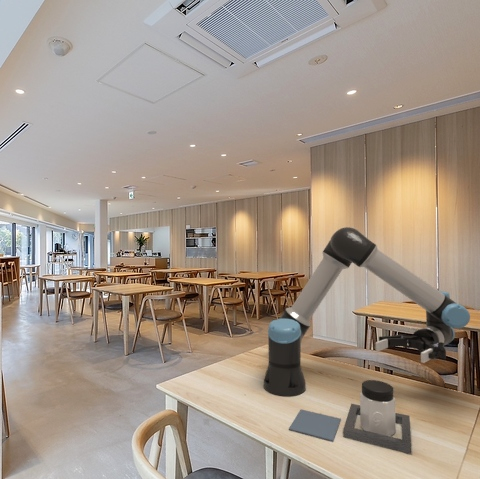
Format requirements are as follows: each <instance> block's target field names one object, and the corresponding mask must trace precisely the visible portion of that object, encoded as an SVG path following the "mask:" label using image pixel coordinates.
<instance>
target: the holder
mask: <svg viewBox="0 0 480 479" xmlns="http://www.w3.org/2000/svg"><path fill="white" fill-rule="evenodd" d="M358 415H359V416H360V404H356V403H351V404H350V406H349V410H348V413H347V416H346V419H345V422H344V425H343V430H342V431H343V432H342V436H343V438H346V439H348V440H349V439H350V440H353V441H358V442H362V443H366V444H370V445H374V446H379V447H380V448H386V449H390V450H391V451H392V450H393V451H397V452H400V453H405V454H409V455H412V436H411V421H410V419H411V418H410V415H409V414H408V415H407V414H403V413H399V412H395V421H396V424H398V425H401V438H398V437H397V438H396V437H394V436H386V435H382V434H377V433H373V432H369V431H365V430H364V429H360V428H357V427H356V428H355V425H356V423H357V422H356V421H357V417H358Z"/></svg>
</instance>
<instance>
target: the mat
mask: <svg viewBox="0 0 480 479" xmlns="http://www.w3.org/2000/svg"><path fill="white" fill-rule="evenodd" d="M341 421H342V419H341V417H335V416H331V415H327V414H322V413H319V412H314V411H310V410H305V409H300V410H299V411H298V413H297V414H296V416H295V418H294V419H293V421H292V422H291V424H290V426H289V427H288V431H291V432H295V433H298V434H301V435H306V436H308V437H309V436H310V437H313V438H318V439H321V440H325V441H328V442H332V443H334V441H335V438H336V435H337V431H338V429H339V427H340V423H341Z"/></svg>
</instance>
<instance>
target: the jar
mask: <svg viewBox="0 0 480 479" xmlns="http://www.w3.org/2000/svg"><path fill="white" fill-rule="evenodd" d="M359 397H360V398H359V405H360V415H359V416H360V418H359V419H360V427H361V428H362V430H365V431H369V432H373V433H377V434H382V435H386V436H390V437H393V435H394V434H396V432H397V430H396V426H397V425H396V424H397V423H396V421H395V413H396V398H395V397H394V387H393V386H392V385H391V384H389V383H387V382H384V381H381V380H377V379H368V380H364V381H362V382H361V392H360V393H359Z"/></svg>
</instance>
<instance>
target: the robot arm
mask: <svg viewBox="0 0 480 479" xmlns="http://www.w3.org/2000/svg"><path fill="white" fill-rule="evenodd" d="M352 263H353V264H354V265H356V266H357V267H358V268H364V269H366V270H368V271H369V272H371V273H372V274H373V275H375V276H377V277H378V278H379V279H380V280H382V281H383V282H385V283H386V284H388V285H389V286H390V287H392V288H393V289H395V290H396V291H398V292H399V293H401V294H402V295H403V296H405V297H407V299H409V300H411V301H412V302H413V303H415V304H416V305H418V306H419V307H421V308H422V309H424V310H425V317H426V318H425V319H426V320H425V322H426V326H425V327H424V328H421V329H417V330H415V331H414V332H413V333H412V335H411V336H404V334H402V333H401V334H398V335H385V336H381V335H380V336H378V341H376V342H375V352H381V351H383V350H386V349H388V348H389V347H404V348H405V349H415V350H417V351H419V352H420V363H422V364H425V363H426V362H428V361H430V360H434V359H439V358H440V359H441V360H446V359H447V350H446V348H445V347H444V346H446V345H449V344H450V343H452V341H453V340H455V337H456V332H455V330H454V329H463V328H464V327H466V326H467V325H468V324H469V323H470V320H471V315H470V314H471V313H470V312H469V310H468V309H467V308H466V307H465V306H464V305H462V304H460V303H457V302H455V301H454V300H452V299H451V296H450V293H449V292H448V291H443V290H438V289H437V288H435V287H434V286H432V285H431V284H429V283H427V282H426V281H424V280H423V279H422V278H420V277H418V276H417V275H416V274H414V273H413V272H411V271H410V270H408V269H407V268H406V267H404V266H403V265H401V264H400V263H398V262H397V261H395V260H394V259H392V258H391V257H390V256H388V255H387V254H385V253H383V252H382V251H381V250H379V249H378V245H377V244H376V243H374V242H373V241H371V240H370V239H369V238H368V237H366V236H365V235H364V234H362V232H361V231H359V230H358V229H356V228H354V227H348V226H346V227H342V228H340V229H337V230H336V231H335V232H334V233H333V234H332V236H331V237H330V240H329V241H328V243H327V244H326V246H325V248H324V249H323V250H322V259H321V261H320V263H319V264H318V265H317V267H316V268H315V270H314V272H313V273H312V275H310V278H309V280H308V281H307V282H306V284H305V285H304V287H303V289H301V292H300V293H299V295H298V297H297V299H296V300H295V301H294V303H293V304H292V306H290V307H286V308H285V310H284V311H283V313H281V314H282V315H281V316H280V317H279V318H277V319H274V320H272V321H270V323H269V325H268V330H267V334H268V335H267V336H268V344H267V345H268V346H267V347H268V366H267V368H266V372H265V375H264V377H263V388H264V389H265V391H267V392H269V393H271V394H272V395H276V396H282V397H291V396H298V395H300V394H303V393H304V392H305V391H306V389H307V388H306V386H307V385H306V379H305V376H304V372H303V369H302V366H301V365H302V362H301V361H302V360H301V356H302V355H301V354H302V353H301V352H302V351H301V343H302V339H303V338H304V337H305V335H306V334H307V332H308V330H309V329H310V327H311V325H312V323H311V318H312V317H313V316H314V314H315V312H316V311H317V309H318V308H319V306H320V305H321V303H322V302H323V300H324V298H325V297H326V296H327V294H328V292H329V291H330V289H331V288H332V286H333V284H334V283H335V282H336V281H337V279H338V277H339V276H340V275H341V273H342V271H343V270H345V269H349V268H350V266H351V265H352Z"/></svg>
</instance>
